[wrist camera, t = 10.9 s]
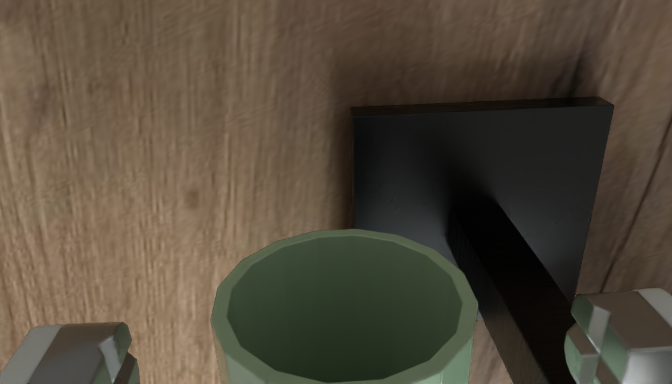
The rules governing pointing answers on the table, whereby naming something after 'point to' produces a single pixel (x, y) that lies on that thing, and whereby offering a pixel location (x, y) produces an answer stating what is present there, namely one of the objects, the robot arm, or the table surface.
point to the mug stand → (491, 206)
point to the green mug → (345, 313)
